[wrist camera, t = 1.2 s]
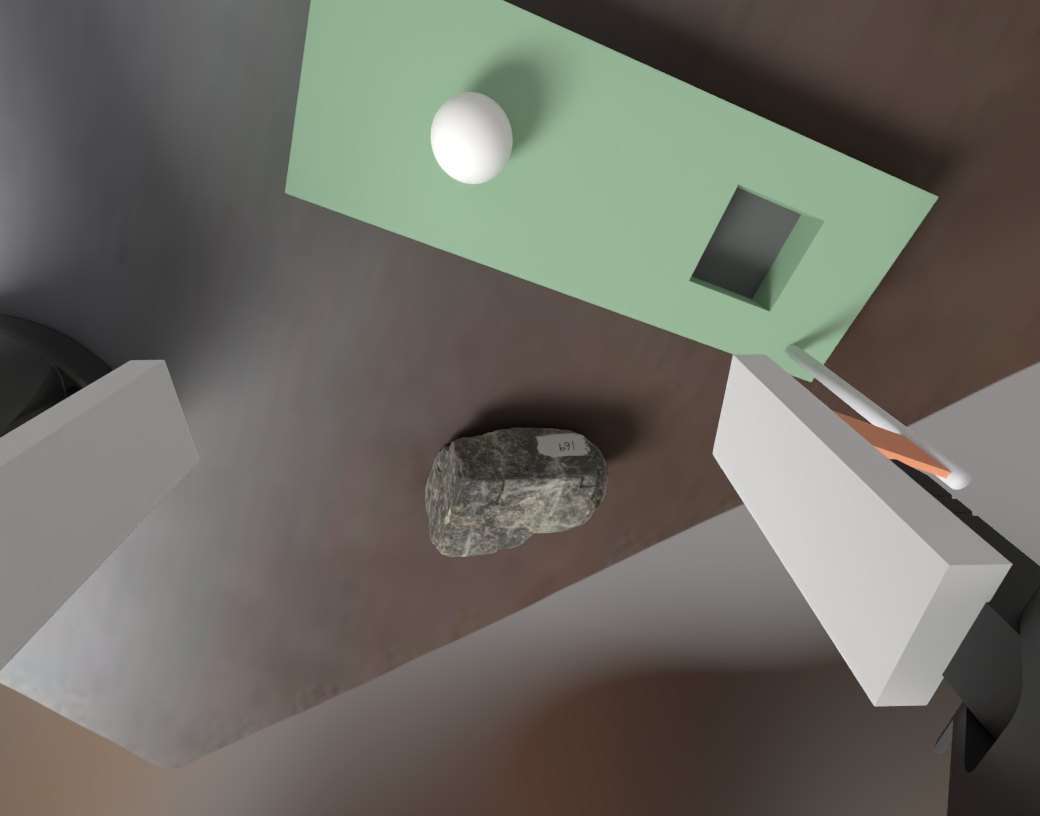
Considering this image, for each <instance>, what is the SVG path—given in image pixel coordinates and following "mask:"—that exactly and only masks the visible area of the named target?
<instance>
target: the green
mask: <svg viewBox="0 0 1040 816" xmlns="http://www.w3.org/2000/svg"><path fill="white" fill-rule="evenodd" d="M463 92H476V93H481V94H484V95H486V96H488V97H490V98H491V99H493V100H494V101H495V102H496V103H497V104H499V106H500V107H501V108H502V109H503V111H504V112H505V114H506V115H507V117H508V120H509V122H510V125H511V129H512V136H513V144H512V151H511V155H510V157H509V160H508V162H507V164H506V166H505V167H504V169H503V170H502V171H501V172H500V173H499V174H498V175H497V176H496V177H494V178H493V179H491V180H489V181H487V182H484V183H480V184H467V183H463V182H459V181H457V180H455V179H454V178H452V177H450V176H449V175H448V174H447V173H446V172H445V171H444V170H443V169H442V168H441V167H440V165H439V164H438V162H437V160H436V158H435V156H434V153H433V150H432V146H431V126H432V122H433V119H434V116H435V114H436V112H437V111H438V109H439V108H440V106H441V105H442V104H443V103H444V102H445V101H446V100H447V99H449V98H450V97H452V96H454V95H456V94H459V93H463ZM285 193H286V194H289V195H292V196H295V197H297V198H300V199H303V200H306V201H308V202H311V203H314V204H317V205H320V206H322V207H325V208H328V209H331V210H333V211H336V212H339V213H342V214H345V215H347V216H350V217H353V218H356V219H358V220H361V221H364V222H367V223H370V224H372V225H375V226H378V227H381V228H384V229H386V230H389V231H392V232H395V233H397V234H400V235H403V236H406V237H409V238H411V239H414V240H417V241H420V242H422V243H425V244H428V245H431V246H434V247H436V248H439V249H442V250H445V251H448V252H450V253H453V254H456V255H459V256H461V257H464V258H467V259H470V260H473V261H475V262H478V263H481V264H484V265H486V266H489V267H492V268H495V269H498V270H500V271H503V272H506V273H509V274H512V275H514V276H517V277H520V278H523V279H525V280H528V281H531V282H534V283H537V284H539V285H542V286H545V287H548V288H550V289H553V290H556V291H559V292H562V293H564V294H567V295H570V296H573V297H576V298H578V299H581V300H584V301H587V302H589V303H592V304H595V305H598V306H601V307H603V308H606V309H609V310H612V311H614V312H617V313H620V314H623V315H626V316H628V317H631V318H634V319H637V320H639V321H642V322H645V323H648V324H651V325H653V326H656V327H659V328H662V329H665V330H667V331H670V332H673V333H676V334H678V335H681V336H684V337H687V338H690V339H692V340H695V341H698V342H701V343H703V344H706V345H709V346H712V347H715V348H717V349H720V350H723V351H726V352H729V353H731V354H734V355H753V354H766V355H767V356H768V357H769V358H771V359H772V360H773V361H774V362H775V363H776V364H778V365H779V366H780V367H781V368H782V369H783V370H785V371H786V372H787V373H788V374H790V375H793V376H795V377H798V378H801V379H804V380H806V381H809V382H812V380H813V379H814V377H815V378H816V379H817V380H819V381H820V382H821V383H822V384H823V385H825V386H826V387H827V388H828V389H830V390H831V391H832V392H833V393H835V394H836V395H837V396H838V397H840V398H841V399H842V400H843V401H844V402H846V403H847V404H848V405H849V406H851V407H852V408H853V409H854V410H856V411H857V412H858V413H859V414H861V415H862V416H863V417H864V418H866V419H867V420H868V421H869V422H870V423H872V424H873V425H871V424H869V423H866V422H863V421H860V420H857V419H854V418H852V417H849V416H846V415H843V414H840V413H837V412H834V411H833V412H834V413H835V414H836V415H838V416H839V417H840V418H841V419H842V420H843V421H845V422H846V423H847V424H848V425H849V426H851V427H852V428H853V429H854V430H855V431H856V432H858V433H859V434H860V435H861V436H862V437H863V438H865V439H866V440H867V441H868V442H869V443H871V444H872V445H873V446H874V447H875V448H876V449H878V450H879V451H880V452H881V453H882V454H883V455H885V456H886V457H887V458H888V459H897V460H899V461H901V462H903V463H905V464H907V465H908V466H911V467H914V468H917V469H920V470H923V471H926V472H929V473H932V474H934V475H936V476H937V477H939V478H940V479H941V480H942V481H943V482H945V483H946V484H947V485H948V486H950V487H951V488H952V489H961V488H964V487H966V486H967V485H968V484H969V483H970V481H971V475H970V474H968V473H967V472H966V471H965V470H963V469H962V468H960V467H959V466H958V465H956V464H955V463H954V462H952V461H951V460H950V459H948V458H947V457H945V456H944V455H943V454H942V453H940V452H939V451H938V450H936V449H935V448H934V447H932V446H931V445H930V444H928V443H927V442H926V441H924V440H923V439H922V438H920V437H919V436H918V435H916V434H915V433H914V432H912V431H911V430H910V429H908V428H907V427H906V426H904V425H903V424H902V423H900V422H899V421H898V420H896V419H895V418H893V417H892V416H891V415H889V414H888V413H887V412H885V411H884V410H883V409H881V408H880V407H879V406H877V405H876V404H875V403H873V402H872V401H871V400H869V399H868V398H867V397H865V396H864V395H863V394H861V393H860V392H859V391H857V390H856V389H855V388H853V387H852V386H851V385H849V384H848V383H847V382H845V381H844V380H843V379H841V378H840V377H839V376H837V375H836V374H835V373H833V372H832V371H831V370H829V369H828V368H826V367H825V366H824V365H823V364H824V363H825V361H826V360H827V358H828V357H829V356H830V354H831V353H832V351H833V350H834V348H835V347H836V345H837V344H838V343H839V341H840V340H841V338H842V337H843V335H844V334H845V332H846V331H847V329H848V328H849V327H850V325H851V324H852V322H853V321H854V319H855V318H856V316H857V315H858V314H859V312H860V311H861V309H862V308H863V306H864V305H865V303H866V302H867V300H868V299H869V298H870V296H871V295H872V293H873V292H874V290H875V289H876V287H877V286H878V285H879V283H880V282H881V280H882V279H883V277H884V276H885V274H886V273H887V271H888V270H889V269H890V267H891V266H892V264H893V263H894V261H895V260H896V258H897V257H898V255H899V254H900V253H901V251H902V250H903V248H904V247H905V245H906V244H907V242H908V241H909V240H910V238H911V237H912V235H913V234H914V232H915V231H916V229H917V228H918V226H919V225H920V224H921V222H922V221H923V219H924V218H925V216H926V215H927V213H928V212H929V211H930V209H931V208H932V206H933V205H934V203H935V202H936V200H937V199H938V196H935V195H933V194H931V193H929V192H926V191H924V190H922V189H920V188H918V187H915V186H913V185H911V184H909V183H907V182H904V181H902V180H900V179H898V178H895V177H893V176H891V175H889V174H887V173H884V172H882V171H880V170H878V169H876V168H873V167H871V166H869V165H867V164H864V163H862V162H860V161H858V160H856V159H853V158H851V157H849V156H847V155H845V154H842V153H840V152H838V151H836V150H833V149H831V148H829V147H827V146H825V145H822V144H820V143H818V142H816V141H814V140H811V139H809V138H807V137H805V136H802V135H800V134H798V133H796V132H794V131H791V130H789V129H787V128H785V127H782V126H780V125H778V124H776V123H774V122H771V121H769V120H767V119H765V118H763V117H760V116H758V115H756V114H754V113H751V112H749V111H747V110H745V109H743V108H740V107H738V106H736V105H734V104H732V103H729V102H727V101H725V100H723V99H720V98H718V97H716V96H714V95H712V94H709V93H707V92H705V91H703V90H701V89H698V88H696V87H694V86H692V85H689V84H687V83H685V82H683V81H681V80H678V79H676V78H674V77H672V76H670V75H667V74H665V73H663V72H661V71H658V70H656V69H654V68H652V67H650V66H647V65H645V64H643V63H641V62H639V61H636V60H634V59H632V58H630V57H627V56H625V55H623V54H621V53H619V52H616V51H614V50H612V49H610V48H608V47H605V46H603V45H601V44H599V43H596V42H594V41H592V40H590V39H588V38H585V37H583V36H581V35H579V34H576V33H574V32H572V31H570V30H568V29H565V28H563V27H561V26H559V25H557V24H554V23H552V22H550V21H548V20H545V19H543V18H541V17H539V16H537V15H534V14H532V13H530V12H528V11H526V10H523V9H521V8H519V7H517V6H514V5H512V4H510V3H508V2H506V1H503V0H311V2H310V10H309V17H308V25H307V32H306V40H305V47H304V54H303V62H302V69H301V77H300V84H299V92H298V99H297V106H296V114H295V121H294V129H293V136H292V144H291V151H290V158H289V166H288V173H287V181H286V188H285Z"/></svg>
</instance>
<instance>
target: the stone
mask: <svg viewBox="0 0 1040 816" xmlns="http://www.w3.org/2000/svg"><path fill="white" fill-rule="evenodd" d="M608 482H609V478H608V470H607V465H606V461H605V459H604V457H603V455H602V453H601V451H600V450H599V449H598V448H597V446H595V445H594V444H592V443H591V442H590V441H589V440H587V438H586V437H584V436H583V435H581V434H578V433H575V432H572V431H570V430H560V429H551V428H521V427H518V428H510V429H502V430H496V431H494V432H490V433H486V434H484V435H480V436H474V437H470V438H465V437H463V438H459V439H457V440H455V441H452V443H451V445H449V446H445V447H443V449H442V450H440V451H439V452H438V454H437V457H436V458H435V459H434V463H433V467H432V469H431V471H430V475H429V478H428V481H427V485H426V490H425V506H426V511H427V515H428V525H429V533H430V538H431V541H432V542H433V544H435V545H436V548H437V549H438V550H439V552H440V553H441V554H444V555H447V556H452V557H459V556H462V557H468V556H473V555H483V554H489V553H495V552H496V551H498V550H500V549H507V548H513V547H517V546H519V545H521V544H522V543H524V541H525V540H526V539H528V538H529V537H530V536H531V535H532V534H534V533H554V532H560V531H566V530H570V529H573V528H576V527H578V526H581V525H583V524H584V523H586V522H587V521H588V520H589V519H590V517H591V516H592V514H593V512H594V511H595V510H596V509H597V507H598V506H599V505H600V504H601V503H602V501H603V499H604V497H605V494H606V491H607V487H608Z"/></svg>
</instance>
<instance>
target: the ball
mask: <svg viewBox="0 0 1040 816" xmlns="http://www.w3.org/2000/svg"><path fill="white" fill-rule="evenodd" d="M512 144H513V136H512V129H511V125H510V122H509V120H508V117H507V115H506V114H505V112H504V111H503V109H502V108H501V107H500V106H499V104H497V103H496V102H495V101H494V100H493V99H491V98H490V97H488V96H486V95H484V94H481V93H476V92H463V93H459V94H456V95H454V96H452V97H450V98H449V99H447V100H446V101H445V102H444V103H443V104H442V105H441V106H440V108H439V109H438V111H437V112H436V114H435V116H434V119H433V122H432V126H431V146H432V150H433V153H434V156H435V158H436V160H437V162H438V164H439V165H440V167H441V168H442V169H443V170H444V171H445V172H446V173H447V174H448V175H449V176H450V177H452V178H454V179H455V180H457V181H459V182H463V183H467V184H480V183H484V182H487V181H489V180H491V179H493V178H494V177H496V176H497V175H498V174H499V173H500V172H501V171H502V170H503V169H504V167H505V166H506V164H507V162H508V160H509V157H510V155H511V151H512Z"/></svg>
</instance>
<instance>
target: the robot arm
mask: <svg viewBox="0 0 1040 816" xmlns="http://www.w3.org/2000/svg"><path fill="white" fill-rule="evenodd" d="M713 455H714V457H715V459H716V460H717V462H718V463H719V465H720V466H721V468H722V470H723V471H724V473H725V474H726V476H727V477H728V479H729V480H730V482H731V484H732V485H733V487H734V488H735V490H736V491H737V493H738V494H739V496H740V498H741V499H742V501H743V502H744V504H745V505H746V507H747V509H748V510H749V512H750V513H751V515H752V516H753V518H754V519H755V521H756V522H757V524H758V525H759V527H760V529H761V530H762V532H763V533H764V535H765V536H766V538H767V539H768V541H769V543H770V544H771V546H772V547H773V549H774V551H775V552H776V554H777V555H778V557H779V558H780V560H781V562H782V563H783V565H784V566H785V568H786V569H787V571H788V572H789V574H790V576H791V577H792V578H793V580H794V582H795V583H796V585H797V586H798V588H799V590H800V591H801V592H802V594H803V596H804V597H805V599H806V600H807V602H808V604H809V605H810V607H811V608H812V610H813V611H814V613H815V614H816V616H817V618H818V619H819V620H820V622H821V624H822V625H823V627H824V629H825V630H826V632H827V633H828V635H829V636H830V638H831V639H832V641H833V643H834V644H835V646H836V647H837V649H838V650H839V652H840V653H841V655H842V657H843V658H844V660H845V661H846V663H847V664H848V666H849V667H850V669H851V670H852V672H853V674H854V675H855V677H856V678H857V680H858V682H859V683H860V685H861V686H862V688H863V689H864V691H865V692H866V694H867V695H868V697H869V699H870V700H871V702H872V703H873V705H874V706H909V705H910V706H911V705H927V704H928V702H929V701H930V699H931V697H932V696H933V694H934V692H935V690H936V689H937V687H938V686H939V684H940V682H941V681H942V679H943V678H945V679H946V681H947V682H948V683H949V684H950V686H951V687H952V688H953V689H954V691H955V692H956V693H957V694H958V696H959V697H960V698H961V699H962V701H963V702H962V703H961V705H960V706H959V708H958V709H957V711H956V712H955V714H954V715H953V717H952V718H951V720H950V721H949V723H948V724H947V726H946V728H945V729H944V731H943V732H942V734H941V735H940V737H939V738H938V740H937V742H936V744H935V746H934V748H933V751H935V752H937V753H938V754H941V755H943V753H944V752H945V751H946V749H947V748H948V746H949V745H951V744H952V748H951V763H950V764H951V765H950V779H949V794H948V810H947V816H1040V566H1039V565H1037V564H1036V563H1035V562H1034V561H1032V560H1031V559H1030V558H1029V557H1027V556H1026V555H1025V554H1024V553H1022V552H1021V551H1020V550H1019V549H1018V548H1016V547H1015V546H1014V545H1013V544H1012V543H1010V542H1009V541H1008V540H1006V539H1005V538H1004V537H1003V536H1002V535H1000V534H999V533H998V532H997V531H995V530H994V529H993V528H992V527H991V526H989V525H988V524H987V523H986V522H984V521H983V520H982V519H981V518H979V517H978V516H973V515H972V511H971V510H970V509H968V508H967V507H966V506H965V505H963V504H962V503H961V502H960V501H958V500H957V499H952V495H951V494H950V493H948V492H947V491H946V490H945V489H944V488H942V487H941V486H940V485H939V484H938V483H936V482H935V481H934V480H932V479H931V478H930V477H929V476H927V475H926V474H924V473H922V472H920V471H918V470H916V469H914V468H912V467H910V466H908V465H907V464H905V463H903V462H901V461H899V460H897V459H888V458H887V457H886V456H885V455H883V454H882V453H881V452H880V451H879V450H878V449H876V448H875V447H874V446H873V445H872V444H871V443H869V442H868V441H867V440H866V439H865V438H863V437H862V436H861V435H860V434H859V433H858V432H856V431H855V430H854V429H853V428H852V427H851V426H849V425H848V424H847V423H846V422H845V421H843V420H842V419H841V418H840V417H839V416H838V415H836V414H835V413H834V412H833V411H832V410H831V409H829V408H828V407H827V406H826V405H825V404H823V403H822V402H821V401H820V400H819V399H818V398H816V397H815V396H814V395H813V394H812V393H811V392H809V391H808V390H807V389H806V388H805V387H803V386H802V385H801V384H800V383H799V382H798V381H796V380H795V379H794V378H793V377H792V376H791V375H789V374H788V373H787V372H786V371H785V370H783V369H782V368H781V367H780V366H779V365H778V364H776V363H775V362H774V361H773V360H772V359H771V358H769V357H768V356H767V355H766V354H753V355H733V358H732V363H731V368H730V372H729V377H728V382H727V387H726V392H725V396H724V401H723V406H722V411H721V416H720V420H719V425H718V430H717V435H716V440H715V444H714V449H713ZM199 461H200V459H199V456H198V453H197V450H196V447H195V445H194V442H193V439H192V436H191V433H190V430H189V428H188V425H187V422H186V419H185V416H184V413H183V411H182V408H181V405H180V402H179V399H178V397H177V394H176V391H175V388H174V385H173V382H172V380H171V377H170V374H169V371H168V368H167V365H166V363H165V360H130V361H128V362H127V363H125V364H123V365H122V366H120V367H118V368H117V369H115V370H113V371H111V370H110V369H109V368H108V367H107V366H106V365H105V364H104V363H103V362H101V361H100V360H99V359H98V358H97V357H95V356H94V355H93V354H92V353H90V352H89V351H88V350H86V349H85V348H83V347H82V346H80V345H79V344H77V343H76V342H74V341H72V340H71V339H69V338H67V337H65V336H63V335H62V334H60V333H58V332H56V331H53V330H51V329H49V328H46V327H44V326H41V325H39V324H36V323H33V322H30V321H26V320H22V319H18V318H13V317H8V316H0V671H1V669H2V668H3V667H4V666H5V665H6V664H7V663H8V662H9V661H10V660H11V659H12V658H13V657H14V656H15V655H16V654H17V653H18V652H19V650H20V649H21V648H22V647H23V646H24V645H25V644H26V643H27V642H28V641H29V640H30V639H31V638H32V637H33V636H34V635H35V634H36V633H37V632H38V630H39V629H40V628H41V627H42V626H43V625H44V624H45V623H46V622H47V621H48V620H49V619H50V618H51V617H52V616H53V615H54V614H55V613H56V612H57V610H58V609H59V608H60V607H61V606H62V605H63V604H64V603H65V602H66V601H67V600H68V599H69V598H70V597H71V596H72V595H73V594H74V593H75V592H76V590H77V589H78V588H79V587H80V586H81V585H82V584H83V583H84V582H85V581H86V580H87V579H88V578H89V577H90V576H91V575H92V574H93V573H94V571H95V570H96V569H97V568H98V567H99V566H100V565H101V564H102V563H103V562H104V561H105V560H106V559H107V558H108V557H109V556H110V555H111V554H112V553H113V551H114V550H115V549H116V548H117V547H118V546H119V545H120V544H121V543H122V542H123V541H124V540H125V539H126V538H127V537H128V536H129V535H130V534H131V533H132V531H133V530H134V529H135V528H136V527H137V526H138V525H139V524H140V523H141V522H142V521H143V520H144V519H145V518H146V517H147V516H148V515H149V514H150V513H151V511H152V510H153V509H154V508H155V507H156V506H157V505H158V504H159V503H160V502H161V501H162V500H163V499H164V498H165V497H166V496H167V495H168V494H169V492H170V491H171V490H172V489H173V488H174V487H175V486H176V485H177V484H178V483H179V482H180V481H181V480H182V479H183V478H184V477H185V476H186V475H187V474H188V472H189V471H190V470H191V469H192V468H193V467H194V466H195V465H196V464H197V463H198V462H199Z"/></svg>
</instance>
